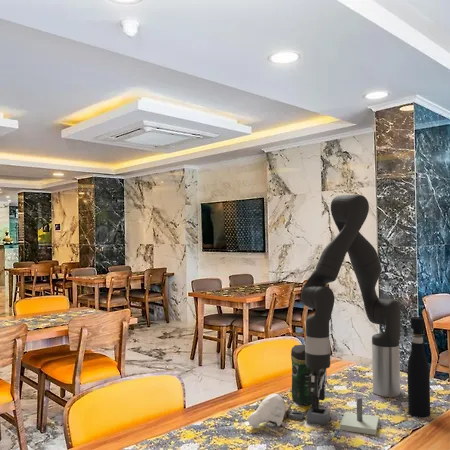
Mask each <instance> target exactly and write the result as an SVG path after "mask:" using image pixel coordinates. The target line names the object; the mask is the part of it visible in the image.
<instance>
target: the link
mask: <svg viewBox="0 0 450 450" xmlns="http://www.w3.org/2000/svg"><path fill="white" fill-rule="evenodd" d="M331 418H332V417H331V408H329V407H327V408H326V407H320V406H319V409H318V410H316V409H312V408H311V406H310V407H309V409H308V410H307V412H306V424H310V425H311V424H312V425H316V426H324V427H328V425H329V423H330V420H331Z"/></svg>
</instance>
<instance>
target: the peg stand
mask: <svg viewBox="0 0 450 450" xmlns="http://www.w3.org/2000/svg"><path fill="white" fill-rule="evenodd" d="M379 424H380V416H376V415H370V414H363V398H362V397H356V413H354V412H348V411H345V412H344V414H343V416H342V419H341V421H340V423H339V430H342V431H347V432H353V433H358V434H359V433H360V434H366V435H373V436H376V435H377V431H378V429H379V428H378V427H379Z"/></svg>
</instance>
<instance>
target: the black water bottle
mask: <svg viewBox="0 0 450 450" xmlns="http://www.w3.org/2000/svg"><path fill="white" fill-rule="evenodd" d="M410 328H411V329H412V331H413V332H412V337H411V343H410V346H411V351H410V354H409V357H408V361H407V368H406V370H407V411H408V414H409V415H410V416H412V417H416V418H422V419H423V418H429V417H430V416H431V388H430V387H431V386H430V385H431V384H430V382H431V381H430V380H431V379H430V366H429V361H428V359H427V355H426V353H425V343H424V337H423V330H425V318H424V317H419V316H412V317H410Z"/></svg>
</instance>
